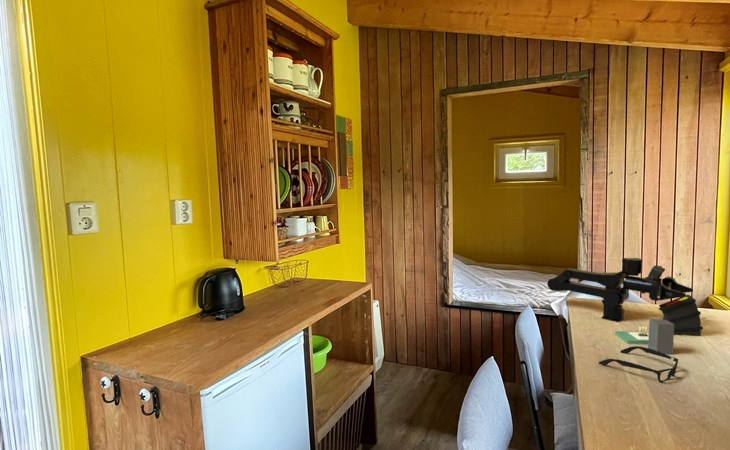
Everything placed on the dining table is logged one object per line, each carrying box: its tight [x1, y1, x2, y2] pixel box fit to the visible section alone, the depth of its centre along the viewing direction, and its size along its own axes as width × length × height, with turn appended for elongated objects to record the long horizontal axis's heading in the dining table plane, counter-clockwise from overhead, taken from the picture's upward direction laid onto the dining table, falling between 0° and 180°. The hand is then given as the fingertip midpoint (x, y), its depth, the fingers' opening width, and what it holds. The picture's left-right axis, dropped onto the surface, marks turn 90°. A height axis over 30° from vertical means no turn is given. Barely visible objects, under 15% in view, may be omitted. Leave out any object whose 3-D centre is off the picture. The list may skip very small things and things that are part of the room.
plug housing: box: [647, 318, 675, 355], centre depth 137 cm, size 5×5×10 cm
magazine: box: [658, 294, 704, 337], centre depth 151 cm, size 4×13×15 cm, turn 78°
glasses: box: [598, 345, 679, 383], centre depth 126 cm, size 17×18×5 cm
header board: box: [614, 326, 649, 345], centre depth 148 cm, size 9×15×5 cm, turn 83°
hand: (689, 292), depth 148 cm, fingers open, 9 cm apart
